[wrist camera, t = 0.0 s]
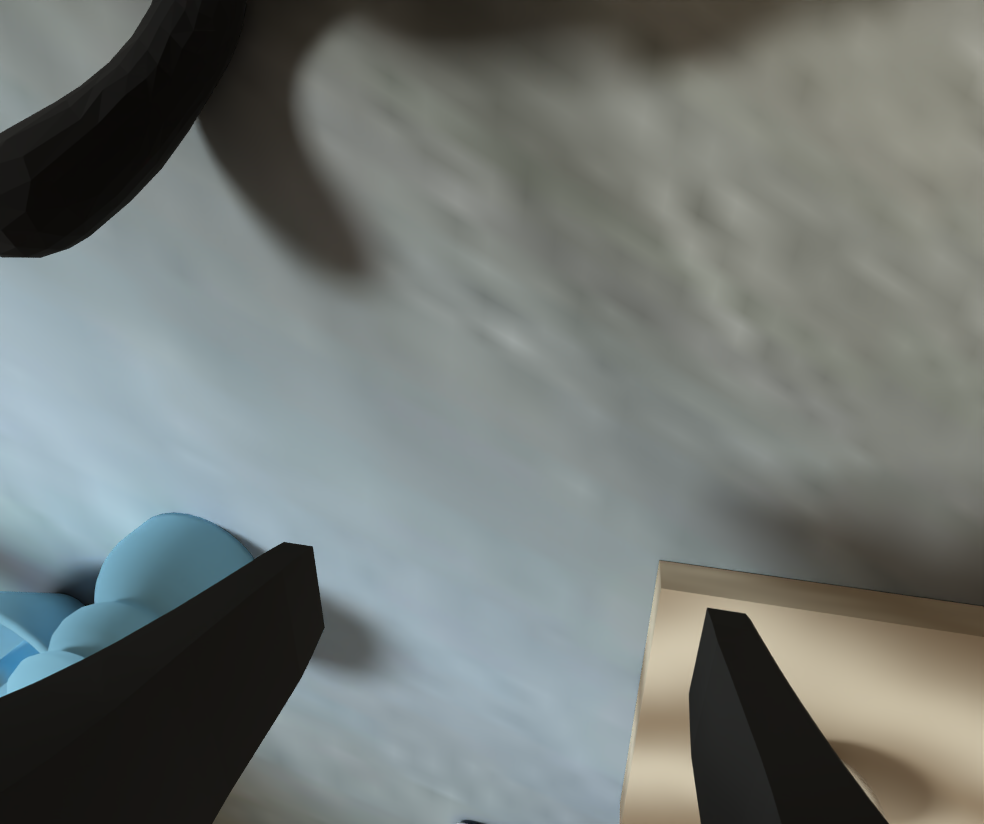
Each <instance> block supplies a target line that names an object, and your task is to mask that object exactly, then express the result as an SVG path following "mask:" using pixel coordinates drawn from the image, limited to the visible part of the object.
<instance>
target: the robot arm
mask: <svg viewBox="0 0 984 824" xmlns="http://www.w3.org/2000/svg"><path fill="white" fill-rule="evenodd" d="M324 628H325V627H324V620H323V613H322V607H321V600H320V593H319V586H318V579H317V572H316V565H315V559H314V552H313V546H306V545H300V544H293V543H287V542H283V543H281V544H280V545H278V546H276V547H274V548H272V549H271V550H269V551H267V552H266V553H264V554H262V555H261V556H259V557H257V558H256V559H254V560H253V561H251V562H249V563H248V564H246V565H245V566H243V567H241V568H240V569H238V570H237V571H235V572H233V573H232V574H230V575H229V576H227V577H225V578H224V579H222V580H221V581H219V582H217V583H216V584H214V585H213V586H211V587H209V588H208V589H206V590H204V591H203V592H201V593H200V594H198V595H196V596H195V597H193V598H191V599H190V600H188V601H187V602H185V603H183V604H182V605H180V606H178V607H177V608H175V609H173V610H172V611H170V612H168V613H166V614H164V615H163V616H161V617H159V618H157V619H156V620H154V621H152V622H150V623H149V624H147V625H145V626H143V627H142V628H140V629H138V630H136V631H135V632H133V633H131V634H129V635H128V636H126V637H124V638H122V639H121V640H119V641H117V642H115V643H113V644H111V645H110V646H108V647H106V648H104V649H102V650H100V651H98V652H96V653H94V654H92V655H90V656H88V657H87V658H85V659H83V660H81V661H79V662H76V663H74V664H72V665H70V666H68V667H66V668H64V669H62V670H60V671H58V672H56V673H54V674H52V675H50V676H48V677H46V678H43V679H41V680H39V681H37V682H35V683H33V684H30V685H28V686H26V687H24V688H21V689H19V690H16V691H14V692H12V693H9V694H7V695H5V696H2V697H0V824H212V823H213V821H214V819H215V818H216V816H217V814H218V812H219V811H220V809H221V807H222V805H223V804H224V802H225V800H226V799H227V797H228V795H229V793H230V792H231V790H232V789H233V787H234V785H235V784H236V782H237V781H238V779H239V777H240V776H241V774H242V773H243V771H244V769H245V768H246V766H247V765H248V763H249V761H250V760H251V758H252V757H253V755H254V753H255V752H256V750H257V749H258V747H259V745H260V744H261V742H262V741H263V739H264V738H265V736H266V734H267V733H268V731H269V730H270V728H271V726H272V725H273V723H274V722H275V720H276V718H277V717H278V715H279V714H280V712H281V710H282V709H283V707H284V705H285V704H286V702H287V701H288V699H289V697H290V696H291V694H292V692H293V691H294V689H295V687H296V686H297V684H298V682H299V681H300V679H301V677H302V675H303V673H304V671H305V669H306V667H307V665H308V663H309V661H310V659H311V657H312V655H313V652H314V650H315V648H316V646H317V643H318V641H319V639H320V637H321V634H322V632H323V630H324ZM689 720H690V744H691V759H692V766H693V774H694V780H695V787H696V794H697V801H698V808H699V815H700V821H701V824H889V823H888V822H887V820H886V819H885V818H884V816H883V815H882V814H881V813H880V811H879V810H878V809H877V807H876V806H875V805H874V804H873V802H872V801H871V800H870V798H869V797H868V796H867V794H866V793H865V792H864V790H863V789H862V788H861V786H860V785H859V784H858V782H857V781H856V780H855V778H854V777H853V776H852V774H851V773H850V772H849V770H848V769H847V768H846V766H845V765H844V763H843V762H842V761H841V759H840V758H839V756H838V755H837V754H836V752H835V751H834V749H833V748H832V747H831V745H830V744H829V742H828V741H827V739H826V738H825V736H824V735H823V734H822V732H821V731H820V729H819V728H818V726H817V725H816V723H815V722H814V720H813V719H812V717H811V716H810V714H809V713H808V711H807V710H806V708H805V707H804V706H803V704H802V703H801V701H800V699H799V698H798V696H797V695H796V693H795V692H794V690H793V689H792V687H791V686H790V684H789V682H788V681H787V679H786V678H785V676H784V674H783V673H782V671H781V670H780V668H779V666H778V665H777V663H776V661H775V660H774V658H773V657H772V655H771V653H770V652H769V650H768V648H767V647H766V645H765V643H764V641H763V640H762V638H761V636H760V635H759V633H758V631H757V629H756V628H755V626H754V624H753V623H752V621H751V619H750V618H749V617H748V616H747V615H746V613H740V612H733V611H727V610H720V609H714V608H707V610H706V615H705V620H704V624H703V629H702V634H701V638H700V643H699V648H698V652H697V657H696V662H695V666H694V671H693V676H692V680H691V685H690V690H689ZM456 824H466V823H461V822H460V823H456Z"/></svg>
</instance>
